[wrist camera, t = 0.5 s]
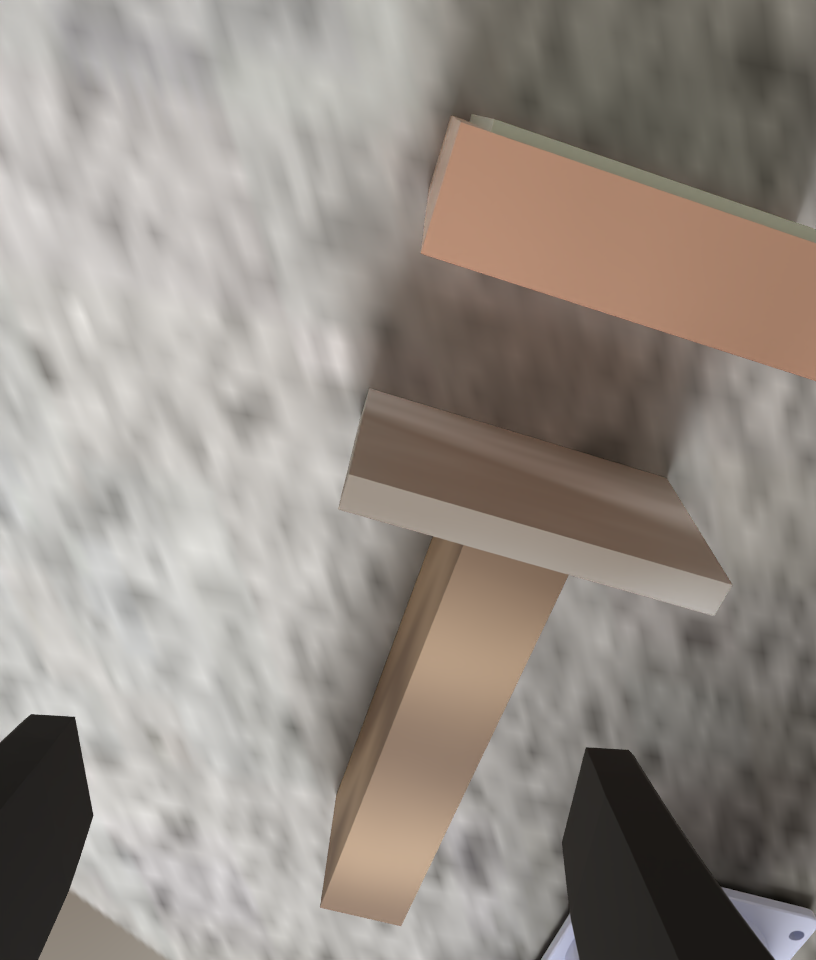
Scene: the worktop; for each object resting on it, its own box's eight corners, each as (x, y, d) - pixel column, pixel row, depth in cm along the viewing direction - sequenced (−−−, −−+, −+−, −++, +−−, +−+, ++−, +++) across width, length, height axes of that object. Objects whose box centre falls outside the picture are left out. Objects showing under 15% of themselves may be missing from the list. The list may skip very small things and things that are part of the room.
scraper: (485, 830, 26) (495, 982, 21) (253, 773, 25) (213, 919, 21) (666, 476, 20) (732, 584, 15) (369, 387, 19) (348, 474, 15)
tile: (756, 300, 18) (971, 430, 11) (428, 191, 17) (420, 253, 10) (795, 224, 17) (1053, 311, 10) (453, 107, 16) (465, 109, 9)
